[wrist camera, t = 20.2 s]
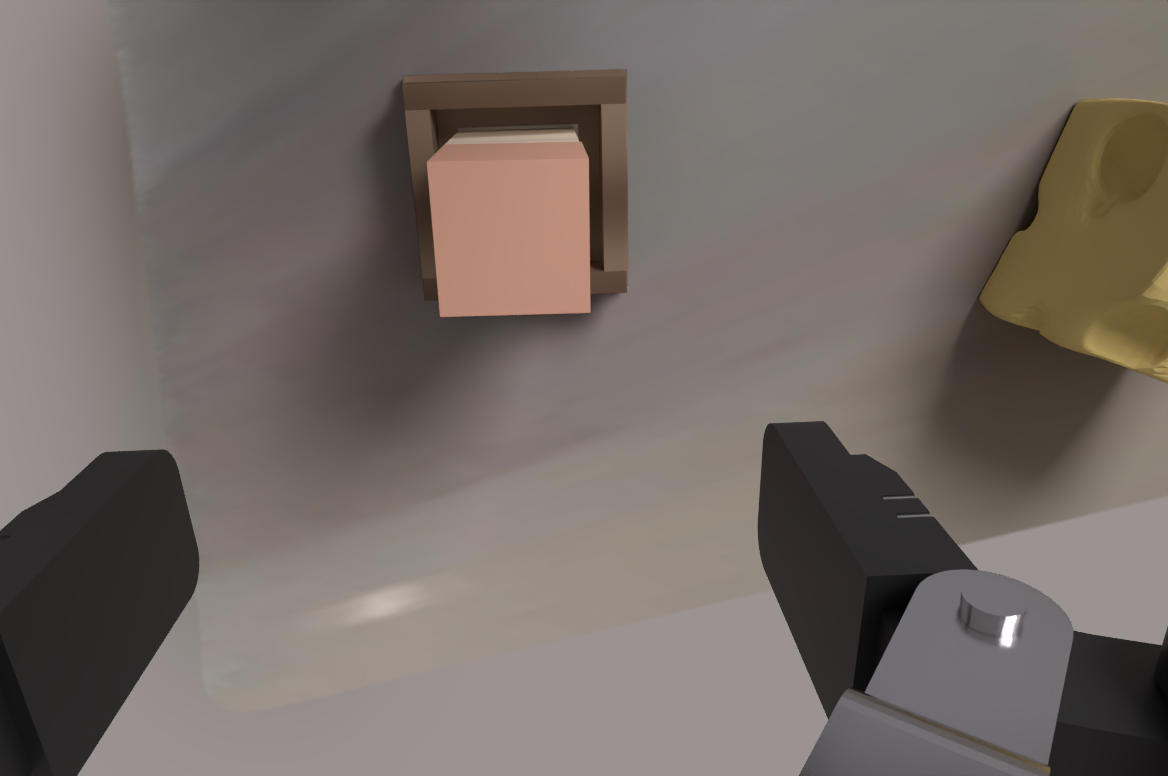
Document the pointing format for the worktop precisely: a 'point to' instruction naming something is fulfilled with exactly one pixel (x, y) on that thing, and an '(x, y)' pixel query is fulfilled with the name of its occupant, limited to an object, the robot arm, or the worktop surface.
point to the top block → (511, 228)
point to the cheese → (1097, 240)
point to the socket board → (530, 104)
